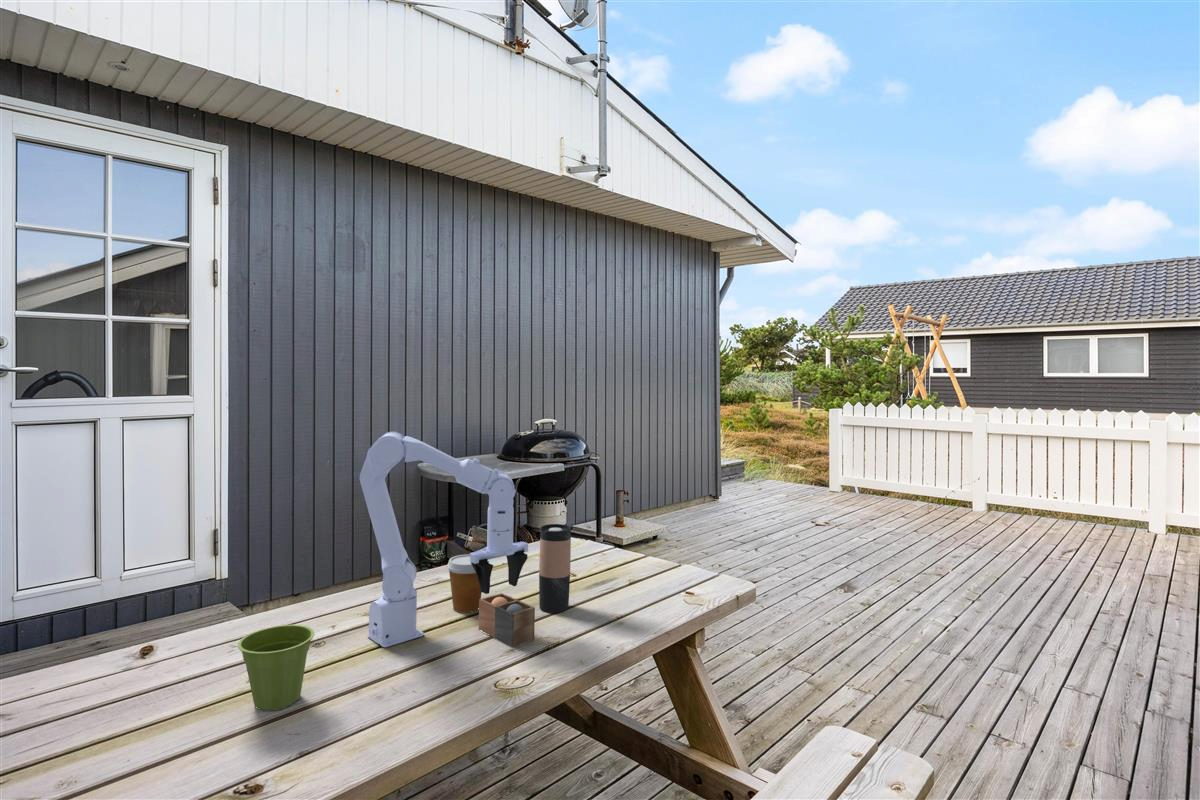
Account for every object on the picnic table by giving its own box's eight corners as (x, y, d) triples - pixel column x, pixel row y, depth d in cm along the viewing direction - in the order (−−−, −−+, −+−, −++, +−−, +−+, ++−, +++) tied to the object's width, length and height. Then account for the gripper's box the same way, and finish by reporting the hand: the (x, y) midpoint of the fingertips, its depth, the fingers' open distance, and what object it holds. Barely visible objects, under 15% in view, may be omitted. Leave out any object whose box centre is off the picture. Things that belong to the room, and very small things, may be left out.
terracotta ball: (492, 621, 143) (499, 613, 140) (484, 604, 145) (491, 597, 142) (507, 615, 146) (514, 607, 143) (499, 599, 147) (506, 591, 145)
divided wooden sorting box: (511, 647, 136) (512, 614, 136) (478, 630, 145) (479, 599, 144) (534, 639, 141) (534, 607, 140) (500, 623, 149) (501, 593, 149)
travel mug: (571, 603, 163) (573, 524, 162) (566, 614, 155) (568, 532, 154) (541, 601, 164) (543, 523, 163) (535, 612, 156) (537, 530, 155)
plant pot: (294, 678, 121) (294, 618, 120) (326, 700, 113) (327, 636, 113) (225, 702, 112) (225, 638, 111) (255, 727, 104) (256, 659, 103)
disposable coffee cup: (464, 618, 151) (465, 568, 151) (438, 608, 157) (438, 559, 156) (494, 607, 159) (495, 559, 158) (468, 598, 164) (469, 551, 164)
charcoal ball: (508, 629, 139) (515, 622, 136) (499, 612, 140) (506, 605, 138) (523, 621, 142) (530, 615, 139) (514, 605, 143) (521, 598, 140)
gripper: (483, 537, 136) (482, 601, 137) (537, 526, 146) (535, 586, 147) (464, 531, 141) (463, 592, 141) (517, 521, 151) (516, 578, 152)
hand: (499, 588), depth 145 cm, fingers open, 7 cm apart
